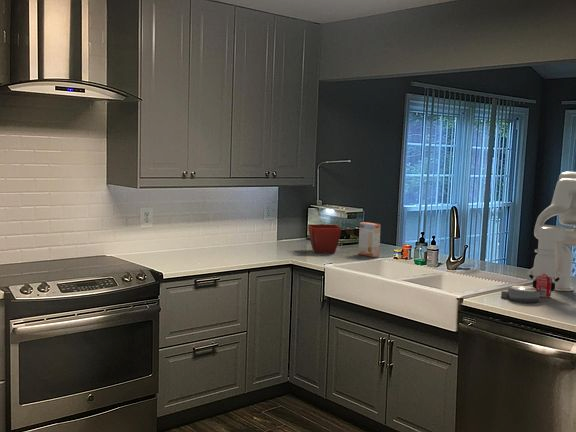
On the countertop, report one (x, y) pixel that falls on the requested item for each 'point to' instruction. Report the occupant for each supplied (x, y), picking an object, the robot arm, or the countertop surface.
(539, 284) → the soda can
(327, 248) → the plant pot
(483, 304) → the countertop surface
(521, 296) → the motor housing
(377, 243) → the cracker box
